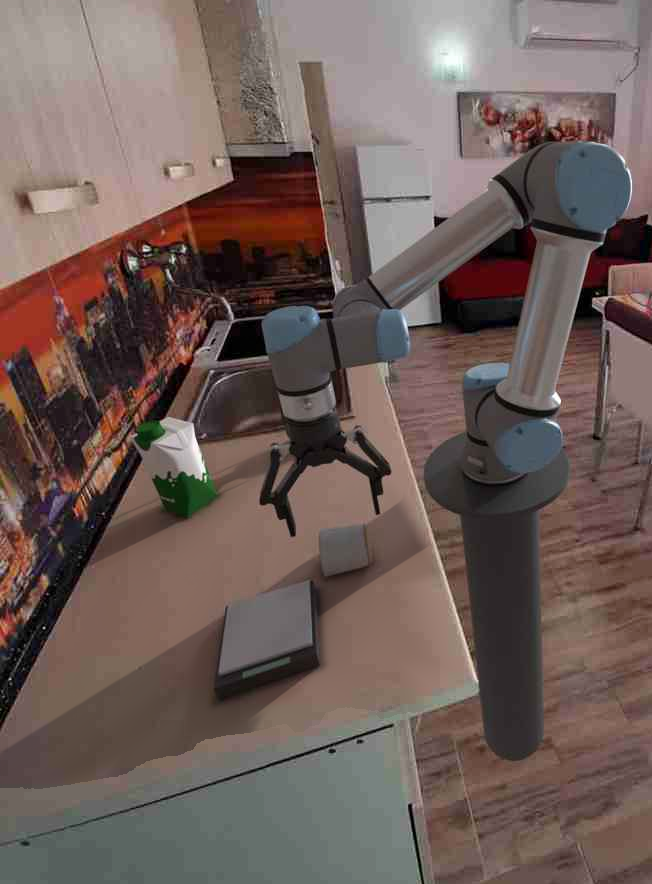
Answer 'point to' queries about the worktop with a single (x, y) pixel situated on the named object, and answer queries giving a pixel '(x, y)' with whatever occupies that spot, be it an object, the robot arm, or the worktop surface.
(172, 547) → the worktop surface
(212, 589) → the worktop surface
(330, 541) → the ceramic mug
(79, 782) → the worktop surface
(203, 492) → the milk carton
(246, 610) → the kitchen scale
